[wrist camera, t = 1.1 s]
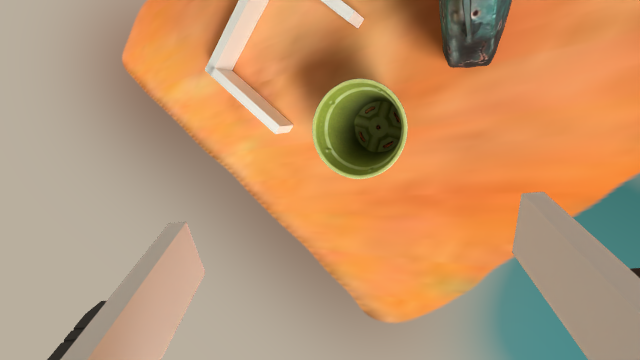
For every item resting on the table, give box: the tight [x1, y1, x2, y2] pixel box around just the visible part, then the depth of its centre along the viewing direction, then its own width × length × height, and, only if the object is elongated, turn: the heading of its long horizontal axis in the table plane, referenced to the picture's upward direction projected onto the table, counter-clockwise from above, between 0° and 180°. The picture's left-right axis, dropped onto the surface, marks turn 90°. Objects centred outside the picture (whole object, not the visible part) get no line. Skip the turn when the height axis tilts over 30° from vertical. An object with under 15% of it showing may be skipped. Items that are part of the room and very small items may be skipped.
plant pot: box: [312, 79, 408, 179], centre depth 36 cm, size 9×9×9 cm
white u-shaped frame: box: [205, 0, 364, 134], centre depth 41 cm, size 16×13×4 cm
